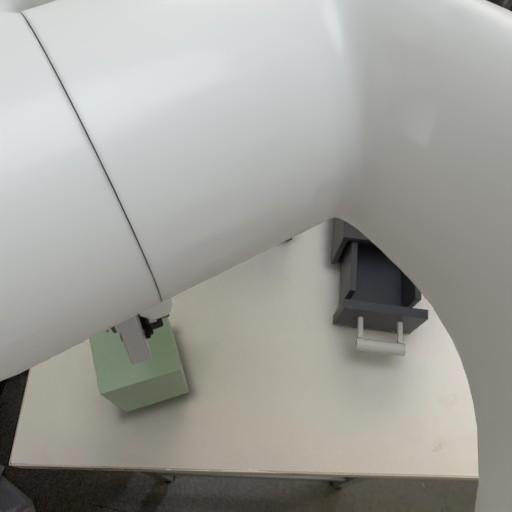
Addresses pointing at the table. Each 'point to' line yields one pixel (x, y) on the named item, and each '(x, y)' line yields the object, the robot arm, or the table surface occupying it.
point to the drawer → (376, 298)
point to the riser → (138, 370)
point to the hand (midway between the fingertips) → (135, 297)
